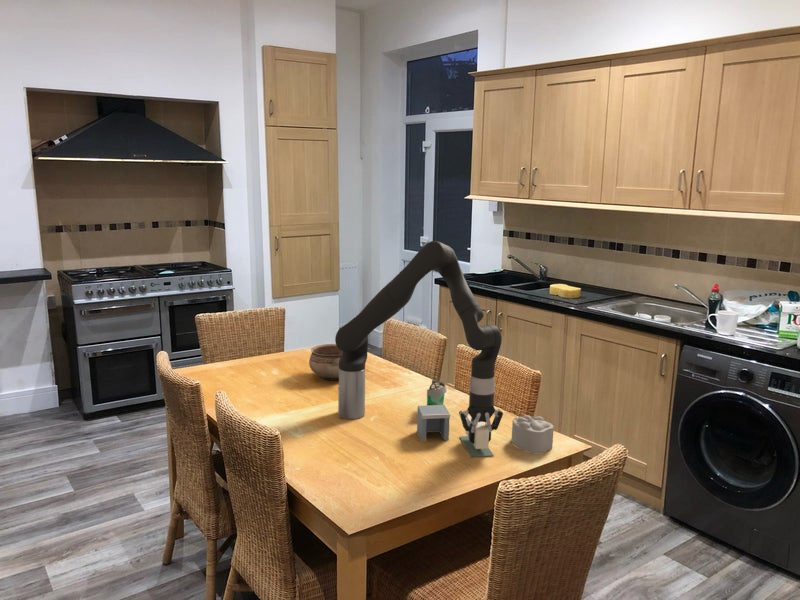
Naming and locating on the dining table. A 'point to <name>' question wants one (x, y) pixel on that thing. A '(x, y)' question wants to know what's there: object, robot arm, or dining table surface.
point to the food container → (436, 393)
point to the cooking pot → (326, 361)
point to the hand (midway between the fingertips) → (479, 442)
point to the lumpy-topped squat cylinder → (532, 434)
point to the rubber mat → (473, 451)
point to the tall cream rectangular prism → (479, 434)
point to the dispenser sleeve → (433, 420)
